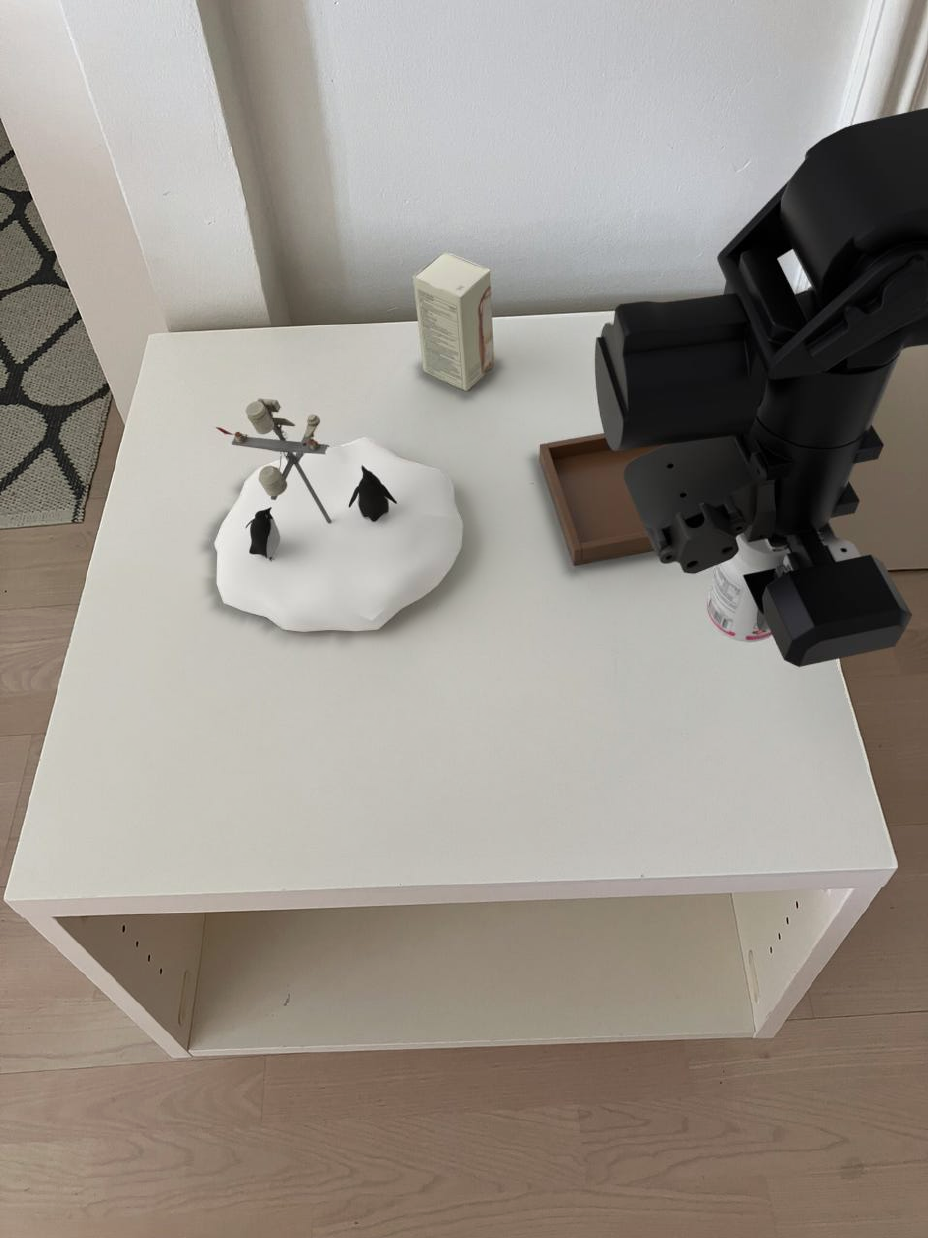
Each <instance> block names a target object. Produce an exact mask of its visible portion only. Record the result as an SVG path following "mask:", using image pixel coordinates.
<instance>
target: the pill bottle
mask: <svg viewBox="0 0 928 1238" xmlns="http://www.w3.org/2000/svg"><path fill="white" fill-rule="evenodd" d="M736 541H737V544H738V547H739V551H738V552H737V554H736V555H735V556H734V557H733V558H732V559H730V560H728V561H725V562H723V563H721V564H718V565H716V566H715V569H714V572H713V576H712V580H711V583H710V588H709V592H708V595H707V599H706V613H707V617H708V619H709V621H710V623H711V625H712V626H713V628H715V629H716V630H717V632H719V633H720V634H722V635H723V636H725V637H727V638H728V639H731V640H734V641H737V642H743V643H756V642H761V641H764V640H767V639H769V638H770V637H773V635H772V633H771V631H770V629H765V630H759V629H758V627H757V612H758V608H757V606H756V603H755V601H754V599H753V597H752V595H751V593H750V590H749V588H748V586H747V584H746V582H745V579H744V577H743V575H745V574H750V573H755V572H759V571H764V570H769V569H774V568H776V567H777V566H784V564H783V560H784V557H785V554H788V553H790V551H789V549H786V550H784V551H779V552H773V551H771V550H770V549H769V547H768V545H767V543H766V541H765V539H763V540H758V541H753V542H747V540H746V538H745V536H744V534H743V533H742V534H740V535H738V536H737V537H736Z"/></svg>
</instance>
